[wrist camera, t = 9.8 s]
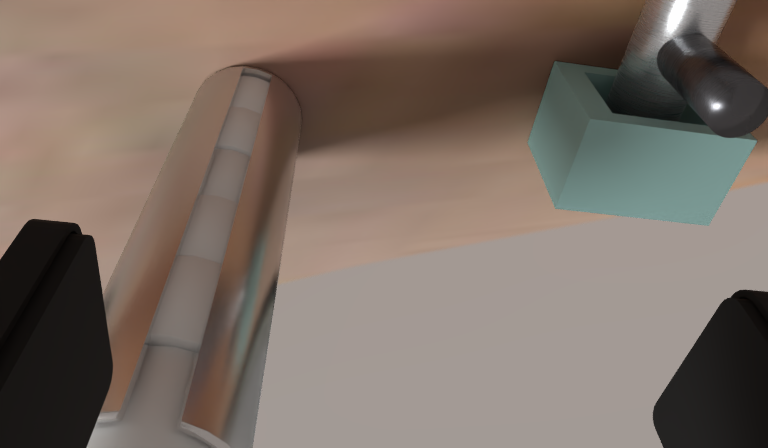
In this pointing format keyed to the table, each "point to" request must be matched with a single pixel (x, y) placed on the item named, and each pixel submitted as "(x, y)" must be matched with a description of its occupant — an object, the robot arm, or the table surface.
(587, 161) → the socket block
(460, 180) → the table surface
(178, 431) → the grey cylinder
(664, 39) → the slip tube
